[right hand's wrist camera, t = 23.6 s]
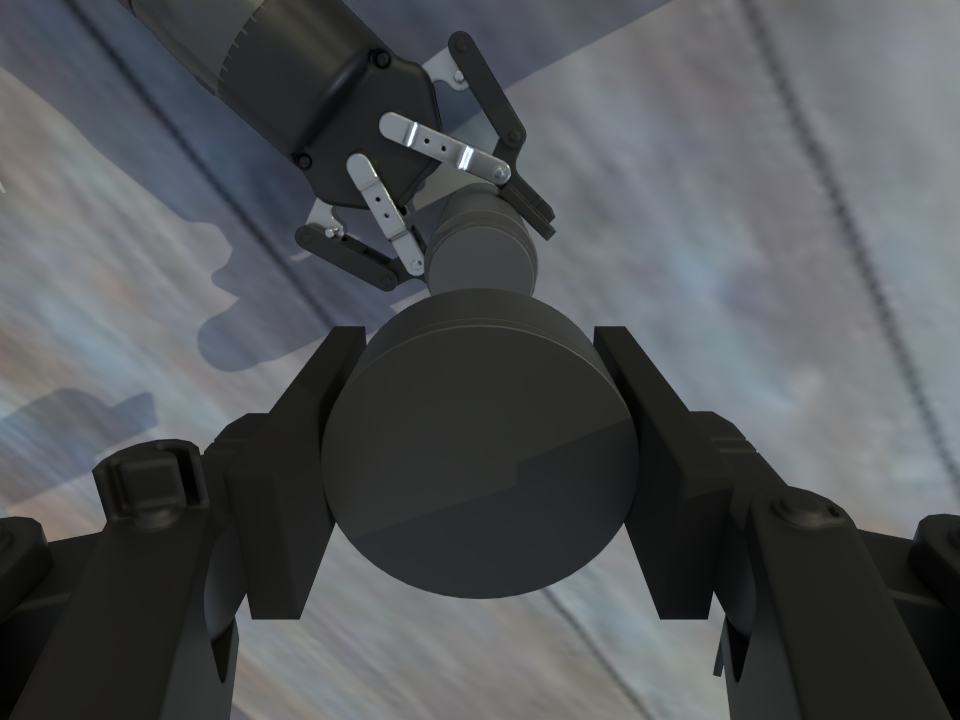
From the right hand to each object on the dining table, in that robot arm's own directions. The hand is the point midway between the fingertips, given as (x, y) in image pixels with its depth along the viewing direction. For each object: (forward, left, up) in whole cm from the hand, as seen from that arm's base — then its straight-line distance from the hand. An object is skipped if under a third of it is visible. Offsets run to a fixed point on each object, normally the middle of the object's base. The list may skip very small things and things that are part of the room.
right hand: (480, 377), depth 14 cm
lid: (0, 0, +4) cm, 4 cm away
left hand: (0, -2, -18) cm, 18 cm away
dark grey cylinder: (0, 0, -24) cm, 24 cm away
